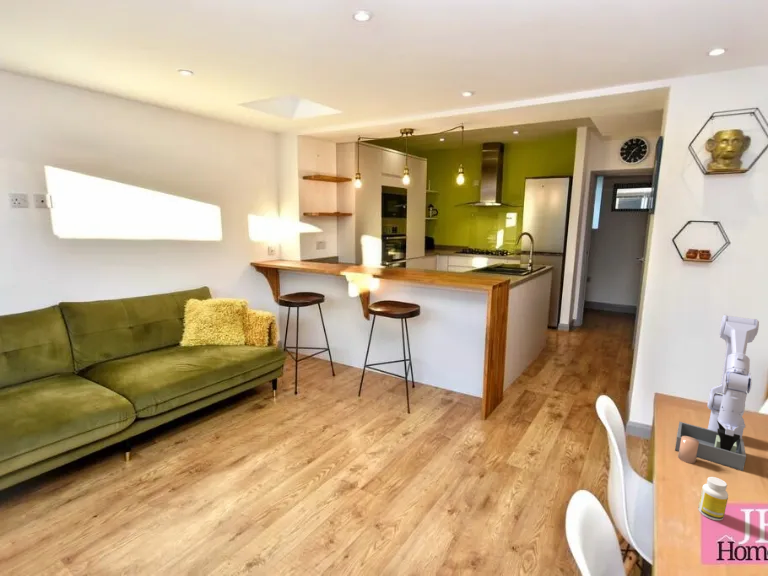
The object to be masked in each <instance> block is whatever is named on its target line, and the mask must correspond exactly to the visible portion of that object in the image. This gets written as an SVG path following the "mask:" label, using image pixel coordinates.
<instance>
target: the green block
mask: <svg viewBox="0 0 768 576" xmlns="http://www.w3.org/2000/svg"><path fill="white" fill-rule="evenodd" d="M714 447H717V448H720V437H719V435H716V440H715V446H714ZM736 448H737V445H736V442H735V443H734V445H733V446H732V448H731V450H730V451H731V452H735V453H736Z"/></svg>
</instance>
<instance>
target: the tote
mask: <svg viewBox="0 0 768 576" xmlns="http://www.w3.org/2000/svg"><path fill="white" fill-rule="evenodd" d="M678 422H679V423H678V427H677V434H676V439H675V440H676V441H675V448H674V451H676V452H679V448H680V443H681V437H682V436H689V437H692V438H695V439H697V440H698V441H699V445H698V450H697V456H696V458H699V459H701V460H706V461H708V462H711V463H716V464H719V465H722V466H725V467H728V468H731V469H734V470H739V471H741V472H744V468H745V464H746V459H747V454H746V449H745V443H744V438H743V437H742V438H740V439H739V440H737V441H736V445H737V448H736V453H735V452H731V451H728V450H724V449H721V448H717V447H714V446H715V440H716V435H719V434H718V432H717V431H713V430H709V429H708V428H705V427H701V426H697V425H694V424H691V423H687V422H683V421H680V420H679V421H678Z"/></svg>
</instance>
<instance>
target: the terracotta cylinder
mask: <svg viewBox="0 0 768 576" xmlns="http://www.w3.org/2000/svg"><path fill="white" fill-rule="evenodd" d="M698 445H699V441H698V440H697V439H695V438H692V437H689V436H682V437H681V443H680V448H679V451H678V454H677V458H678V459H679V460H680V461H682V462H684V463H687V464H692V465H693V464H696V459H697V457H696V456H697V450H698Z"/></svg>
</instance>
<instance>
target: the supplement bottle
mask: <svg viewBox="0 0 768 576" xmlns="http://www.w3.org/2000/svg"><path fill="white" fill-rule="evenodd" d="M727 486H728V485H727V482H726V481H724V480H723V479H721V478H718V477H715V476H708V477H707V479H706V483H704V484H703V485H702V488H701V492H700V493H701V494H700V497H699V498H700V499H699V502H698V511H699V512H700V514H701V515H702V516H703V517H706V518H707V519H710V520H713V521H722V520H723V519H724V518H725V513H726V508H727V504H728V500H729V493H728V491H727Z"/></svg>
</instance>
